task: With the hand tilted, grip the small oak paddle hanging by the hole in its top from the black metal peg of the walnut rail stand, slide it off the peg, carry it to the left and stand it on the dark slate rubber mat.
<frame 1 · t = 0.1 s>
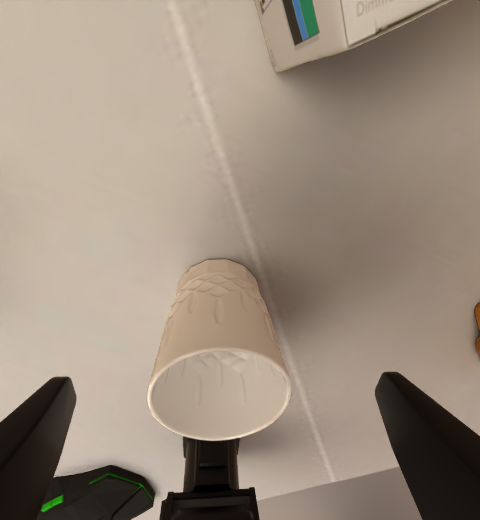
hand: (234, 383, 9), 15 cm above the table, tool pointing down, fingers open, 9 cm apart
computer mouse: (88, 492, 40), on the table
white cup: (218, 291, 25), on the table
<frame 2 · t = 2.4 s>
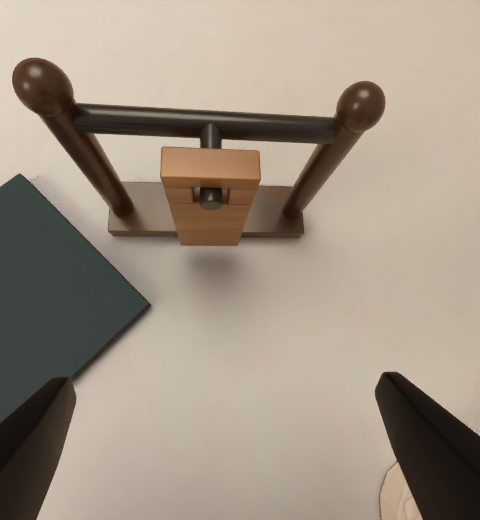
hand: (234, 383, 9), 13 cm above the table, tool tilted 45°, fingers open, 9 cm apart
oak paddle: (209, 236, 21), point 3 cm above the table, touching rail stand
white cup: (422, 504, 21), on the table
rail stand: (209, 213, 24), on the table
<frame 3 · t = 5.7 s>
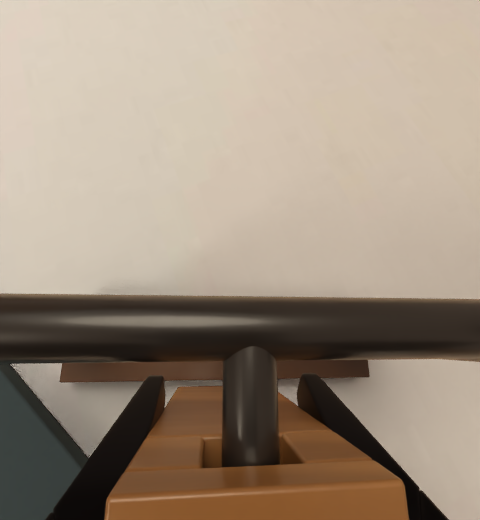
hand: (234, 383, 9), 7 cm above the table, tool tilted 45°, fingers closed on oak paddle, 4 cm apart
oak paddle: (224, 403, 13), point 3 cm above the table, touching gripper, rail stand
rail stand: (222, 336, 16), on the table
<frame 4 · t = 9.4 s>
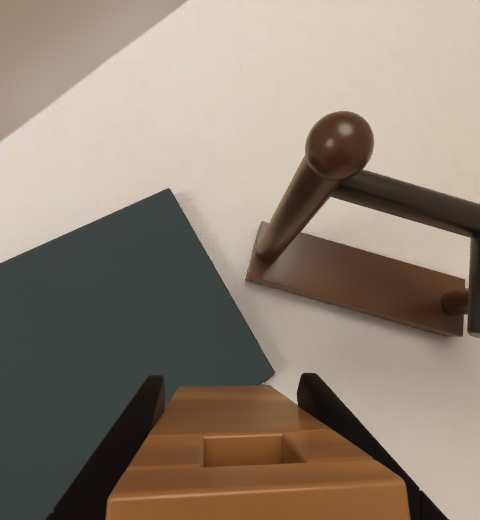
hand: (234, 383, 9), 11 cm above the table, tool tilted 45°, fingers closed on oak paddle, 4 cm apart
rubber mat: (89, 347, 18), on the table
oak paddle: (224, 402, 13), point 6 cm above the table, touching gripper
rail stand: (352, 281, 21), on the table
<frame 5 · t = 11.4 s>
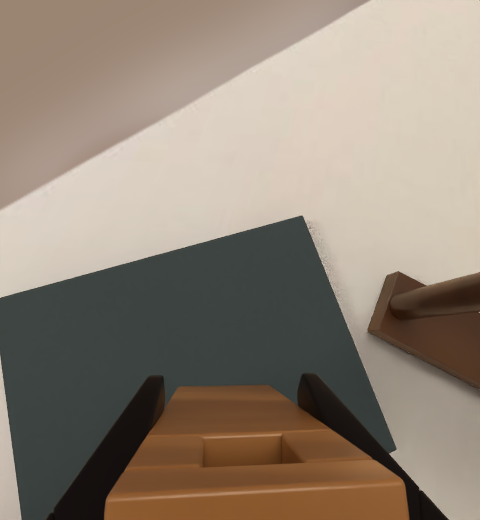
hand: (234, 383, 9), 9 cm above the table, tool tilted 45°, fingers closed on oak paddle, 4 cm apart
rubber mat: (196, 373, 17), on the table
oak paddle: (224, 402, 13), point 4 cm above the table, touching gripper
when the fingers open (6 cm above the table, at t = 12.9 s): oak paddle stays where it is, resting on rubber mat.
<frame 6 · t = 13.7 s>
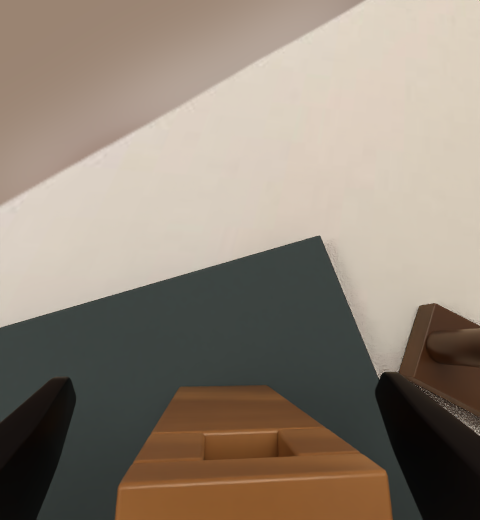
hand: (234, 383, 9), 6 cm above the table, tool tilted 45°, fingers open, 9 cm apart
rubber mat: (193, 431, 14), on the table
oak paddle: (223, 402, 13), point 1 cm above the table, touching rubber mat
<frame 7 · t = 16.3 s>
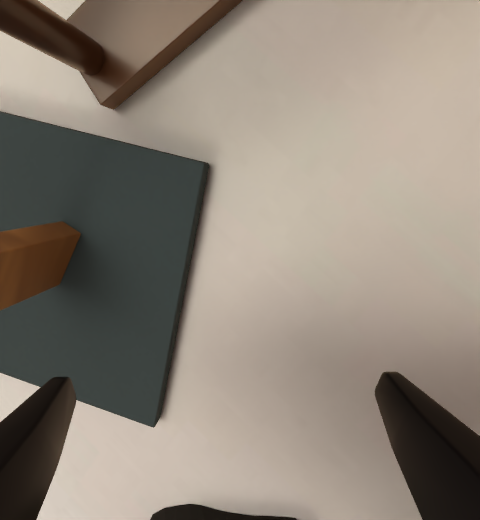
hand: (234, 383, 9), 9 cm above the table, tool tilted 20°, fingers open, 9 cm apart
rubber mat: (83, 277, 20), on the table
oak paddle: (61, 253, 18), point 1 cm above the table, touching rubber mat
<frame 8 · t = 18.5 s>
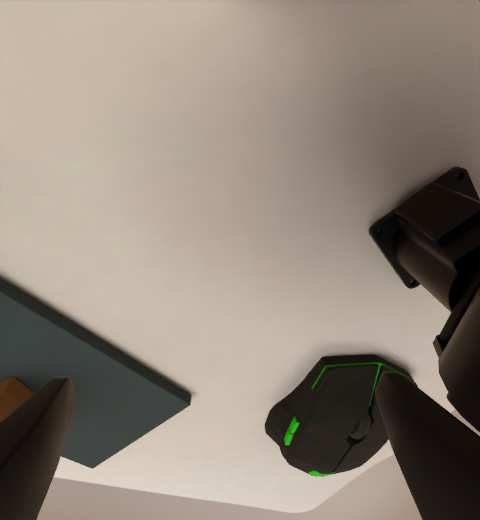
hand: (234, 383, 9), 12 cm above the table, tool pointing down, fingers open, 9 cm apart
computer mouse: (326, 408, 30), on the table
rubber mat: (56, 387, 25), on the table
oak paddle: (25, 393, 24), point 1 cm above the table, touching rubber mat
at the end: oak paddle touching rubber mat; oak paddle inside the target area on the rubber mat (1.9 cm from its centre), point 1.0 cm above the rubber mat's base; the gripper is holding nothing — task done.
